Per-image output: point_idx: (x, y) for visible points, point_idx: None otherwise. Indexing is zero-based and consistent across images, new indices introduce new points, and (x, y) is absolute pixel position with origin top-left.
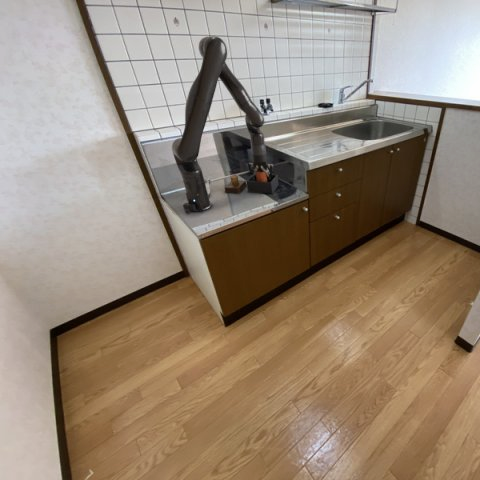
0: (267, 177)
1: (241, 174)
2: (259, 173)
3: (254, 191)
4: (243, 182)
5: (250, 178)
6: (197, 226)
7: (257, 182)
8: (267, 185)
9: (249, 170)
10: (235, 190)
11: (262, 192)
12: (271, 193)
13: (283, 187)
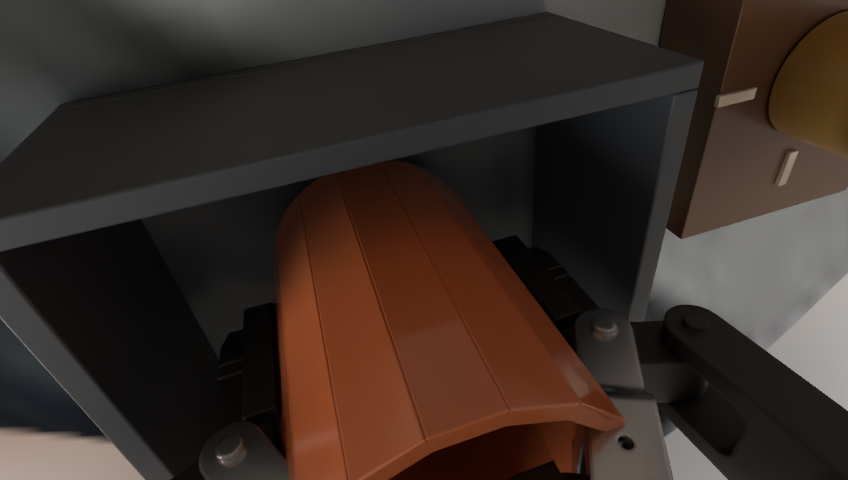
0: (260, 397)
1: None
2: (453, 392)
3: (439, 37)
4: (703, 174)
5: (639, 235)
6: None
7: (405, 120)
8: (106, 156)
9: (792, 373)
10: None
11: (279, 66)
12: (76, 101)
13: None
